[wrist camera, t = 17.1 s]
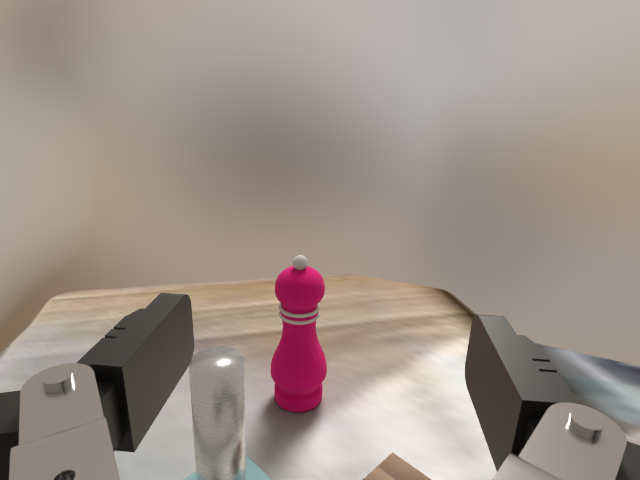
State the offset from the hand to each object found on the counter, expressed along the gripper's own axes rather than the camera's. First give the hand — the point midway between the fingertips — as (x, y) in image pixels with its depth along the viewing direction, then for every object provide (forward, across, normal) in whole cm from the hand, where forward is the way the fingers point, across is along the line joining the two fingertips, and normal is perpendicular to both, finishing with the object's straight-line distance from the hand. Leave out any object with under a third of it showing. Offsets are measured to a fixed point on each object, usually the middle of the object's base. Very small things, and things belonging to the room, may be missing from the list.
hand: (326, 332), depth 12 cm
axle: (+16, +9, +31) cm, 36 cm away
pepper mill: (+37, +6, +32) cm, 49 cm away
